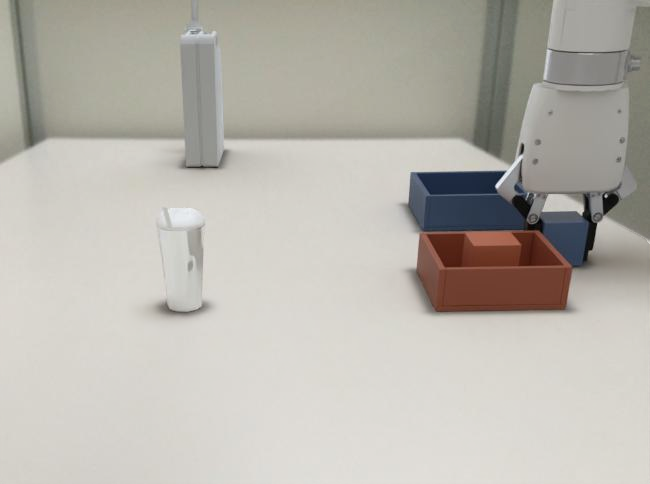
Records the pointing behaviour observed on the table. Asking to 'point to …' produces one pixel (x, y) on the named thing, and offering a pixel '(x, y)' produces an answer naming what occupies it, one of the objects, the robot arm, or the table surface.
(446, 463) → the table surface
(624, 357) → the table surface
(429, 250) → the terracotta bin
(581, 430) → the table surface
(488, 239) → the terracotta block
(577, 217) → the slate block
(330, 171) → the table surface
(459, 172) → the slate bin
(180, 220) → the milkshake
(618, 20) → the robot arm
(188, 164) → the jerry can
